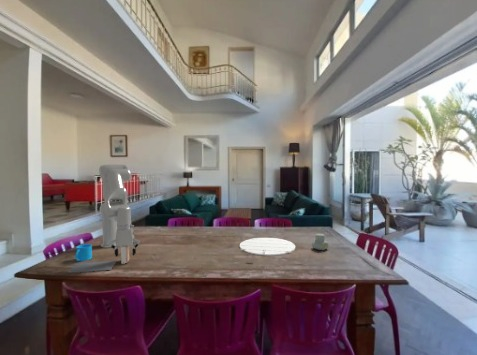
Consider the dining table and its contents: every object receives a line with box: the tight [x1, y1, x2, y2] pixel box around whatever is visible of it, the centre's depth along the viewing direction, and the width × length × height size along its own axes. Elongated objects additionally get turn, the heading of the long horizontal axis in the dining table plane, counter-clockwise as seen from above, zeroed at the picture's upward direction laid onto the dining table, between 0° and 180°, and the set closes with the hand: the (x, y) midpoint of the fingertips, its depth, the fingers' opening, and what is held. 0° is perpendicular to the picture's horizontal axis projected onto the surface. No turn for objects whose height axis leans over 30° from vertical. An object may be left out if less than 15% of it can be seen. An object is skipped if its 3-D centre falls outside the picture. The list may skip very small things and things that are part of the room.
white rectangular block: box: [120, 246, 130, 265], centre depth 164 cm, size 7×3×10 cm, turn 10°
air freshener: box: [311, 233, 329, 251], centre depth 185 cm, size 11×8×10 cm
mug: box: [74, 243, 93, 262], centre depth 167 cm, size 12×8×8 cm
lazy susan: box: [239, 237, 296, 257], centre depth 192 cm, size 40×39×3 cm
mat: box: [66, 260, 118, 274], centre depth 155 cm, size 14×22×1 cm, turn 100°
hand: (125, 255), depth 163 cm, fingers open, 9 cm apart
